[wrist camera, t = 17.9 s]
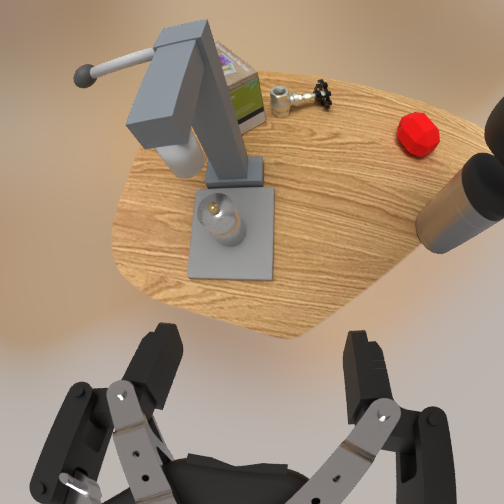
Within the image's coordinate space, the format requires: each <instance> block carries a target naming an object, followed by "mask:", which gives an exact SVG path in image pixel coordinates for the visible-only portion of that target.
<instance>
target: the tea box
mask: <svg viewBox="0 0 504 504" xmlns="http://www.w3.org/2000/svg"><path fill="white" fill-rule="evenodd" d="M215 46H216V49H217V52H218V56H219V59H220V62H221V66H222V69H223V73H224V76H225V79H226V83H227V86H228V90H229V93H230V96H231V100H232V103H233V107H234V110H235V114H236V117H237V121H238V124H239V128H240V131H241V135H242V134H244V133H245V132H247V131H249V130H251V129H253V128H255V127H256V126H258V125H260V124H262V123H264V122H265V121H266V119H265V112H264V106H263V100H262V94H261V89H260V82H259V77H258V72H257V71H256V70H255V69H253V68H252V67H251V66H250V65H248V64H247V63H246V62H244V61H243V60H242V59H241V58H239V57H238V56H237V55H235V54H234V53H233V52H232V51H230V50H229V49H228V48H226V47H225V46H224V45H222V44H221V43H220V42H216V43H215Z"/></svg>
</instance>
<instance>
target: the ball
mask: <svg viewBox="0 0 504 504" xmlns="http://www.w3.org/2000/svg"><path fill="white" fill-rule="evenodd" d="M397 138H398V139H399V140H400V142H401V143H402V144H403V145H404V146H405V148H406V149H407V150H408V151H409V152H410V153H411V154H413V155H417V156H421V157H423V156H425V155H427V154H429V153H430V152H432V151H434V149H435V148H436V146H437V145H438V144H439V142H440V137H439V130H438V128H437V127H436V126H435V125H434V124H433V122H432V121H431V120H430V119H429V118H428V117H427V116H426V115H425V114H424V113H418V112H414V113H411V114H408V115H406V116H404V117H402V118H401V121H400V123H399V126H398V128H397Z"/></svg>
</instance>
